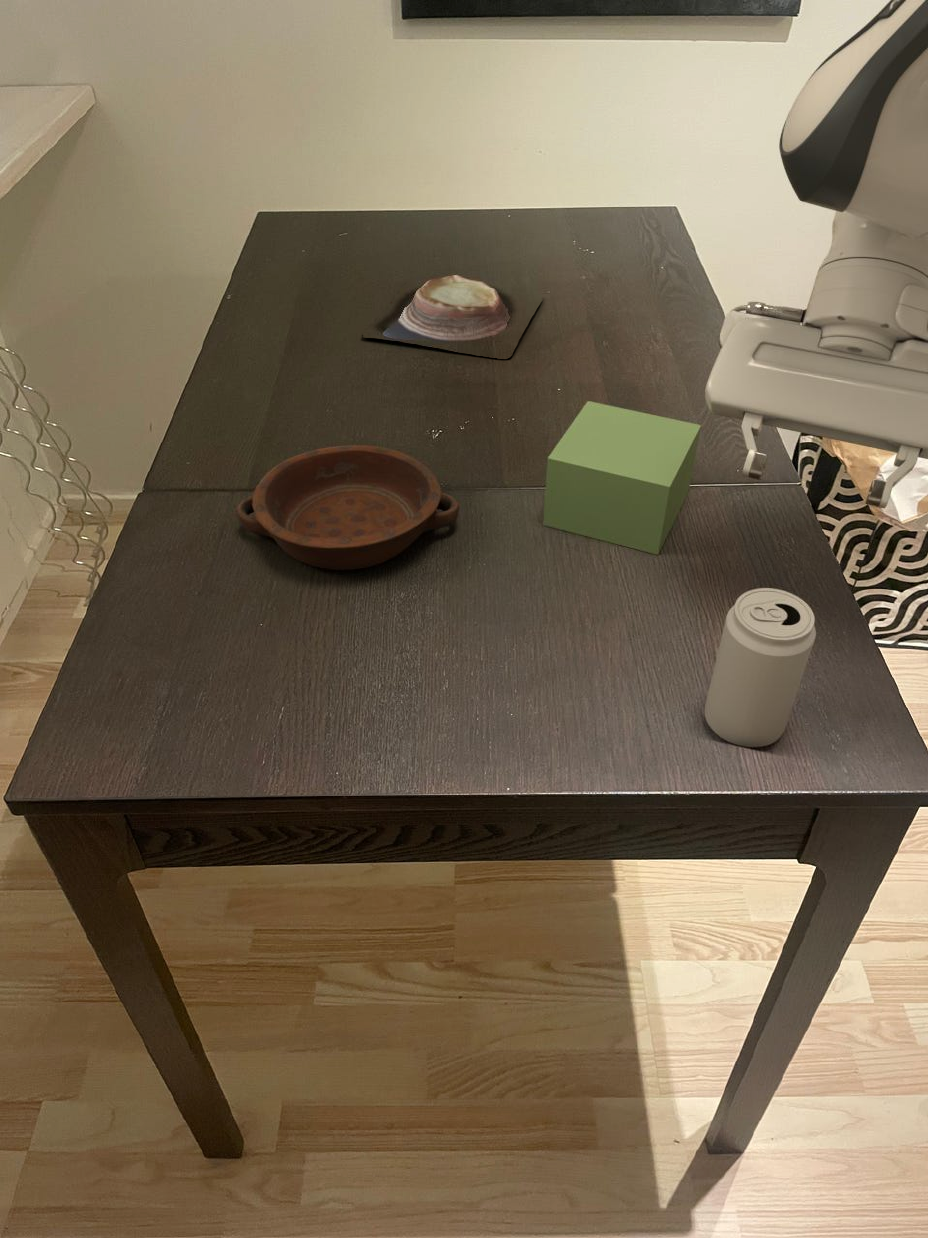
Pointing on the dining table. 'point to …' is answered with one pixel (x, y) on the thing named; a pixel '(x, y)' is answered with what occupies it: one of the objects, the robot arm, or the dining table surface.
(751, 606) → the beverage can
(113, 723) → the dining table surface
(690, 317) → the dining table surface
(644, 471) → the green block
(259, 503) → the dish
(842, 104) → the robot arm
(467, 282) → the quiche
